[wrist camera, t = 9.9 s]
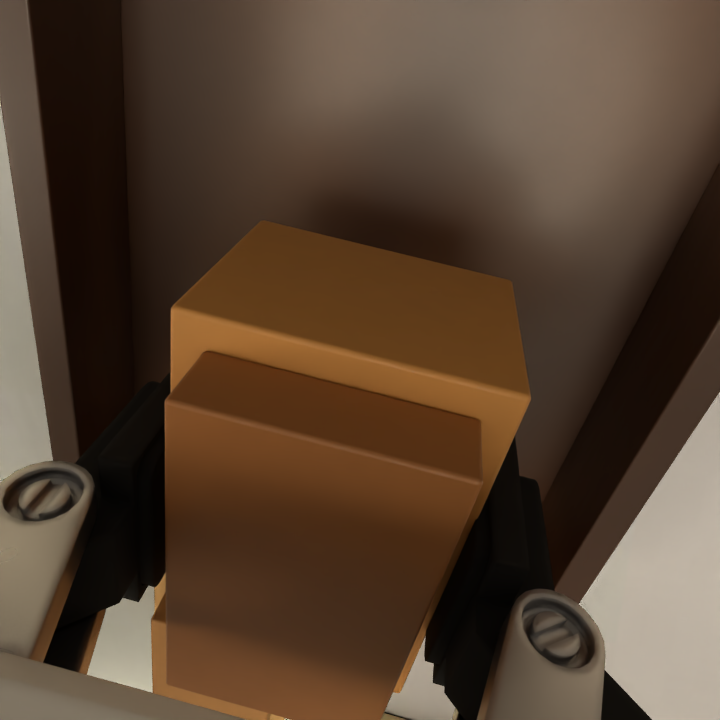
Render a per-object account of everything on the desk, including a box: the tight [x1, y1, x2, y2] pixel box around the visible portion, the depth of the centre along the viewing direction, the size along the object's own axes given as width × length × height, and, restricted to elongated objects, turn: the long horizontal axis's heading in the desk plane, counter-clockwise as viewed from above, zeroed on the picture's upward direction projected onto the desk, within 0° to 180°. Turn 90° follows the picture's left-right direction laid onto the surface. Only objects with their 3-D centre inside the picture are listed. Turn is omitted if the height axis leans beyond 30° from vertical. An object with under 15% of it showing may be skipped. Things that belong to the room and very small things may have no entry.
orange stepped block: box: [165, 220, 531, 720], centre depth 10 cm, size 5×8×5 cm, turn 169°
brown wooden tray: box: [0, 0, 720, 604], centre depth 12 cm, size 15×22×4 cm
